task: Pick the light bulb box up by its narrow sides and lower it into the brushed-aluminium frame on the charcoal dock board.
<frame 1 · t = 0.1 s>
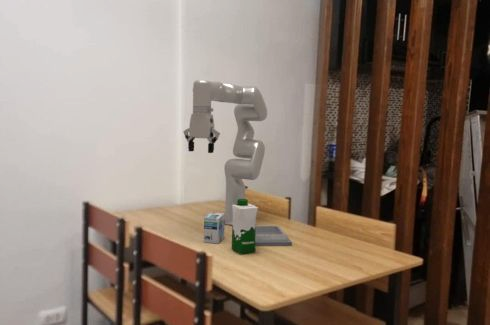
hand: (200, 152, 181), 37 cm above the table, tool pointing down, fingers open, 9 cm apart
dock board: (265, 239, 187), on the table
aluminium frame: (265, 235, 187), resting on dock board
milk carton: (243, 251, 171), on the table
light bulb box: (214, 240, 184), on the table
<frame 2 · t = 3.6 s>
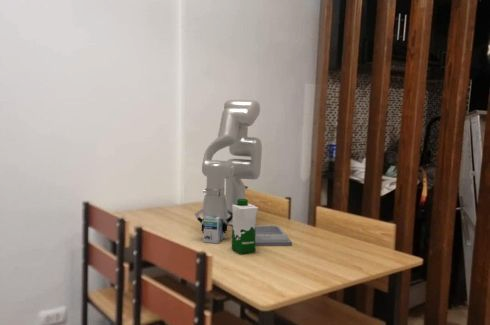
hand: (214, 232, 184), 3 cm above the table, tool pointing down, fingers closed on light bulb box, 8 cm apart
light bulb box: (214, 240, 184), on the table, touching gripper
everything else where it was.
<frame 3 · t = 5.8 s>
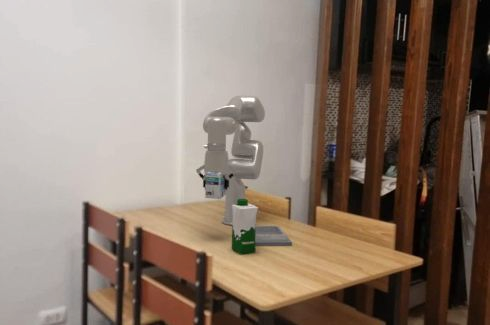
hand: (215, 188, 182), 22 cm above the table, tool pointing down, fingers closed on light bulb box, 8 cm apart
light bulb box: (215, 196, 183), point 18 cm above the table, touching gripper
everything else where it was.
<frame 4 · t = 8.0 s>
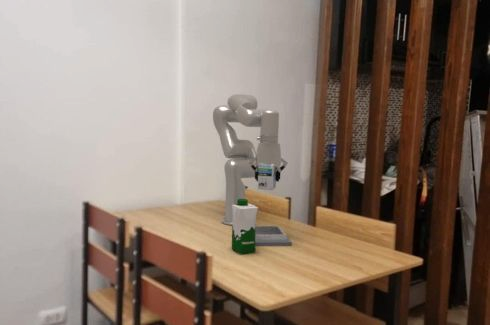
hand: (267, 180, 184), 26 cm above the table, tool pointing down, fingers closed on light bulb box, 8 cm apart
light bulb box: (266, 188, 185), point 22 cm above the table, touching gripper
everything else where it was.
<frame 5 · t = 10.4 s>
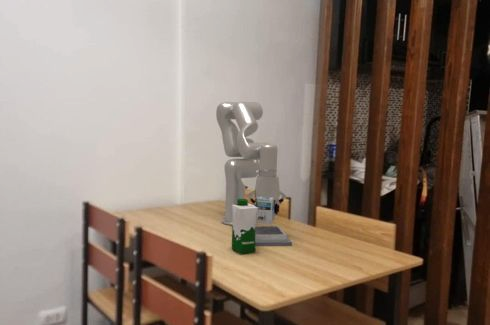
hand: (266, 213, 186), 11 cm above the table, tool pointing down, fingers closed on light bulb box, 8 cm apart
light bulb box: (265, 221, 186), point 8 cm above the table, touching gripper
everything else where it was.
when the fingers open (6 cm above the table, at t = 12.2 s): light bulb box drops 1 cm, resting on dock board.
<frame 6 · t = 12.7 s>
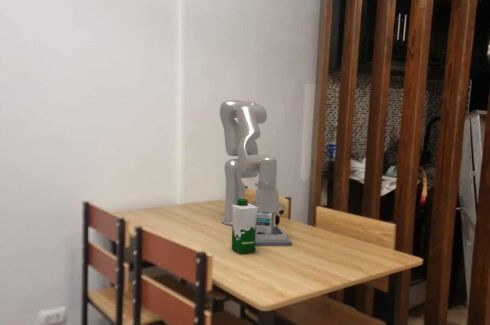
hand: (265, 225, 186), 6 cm above the table, tool pointing down, fingers open, 9 cm apart
light bulb box: (264, 236, 187), point 1 cm above the table, touching dock board
everything else where it was.
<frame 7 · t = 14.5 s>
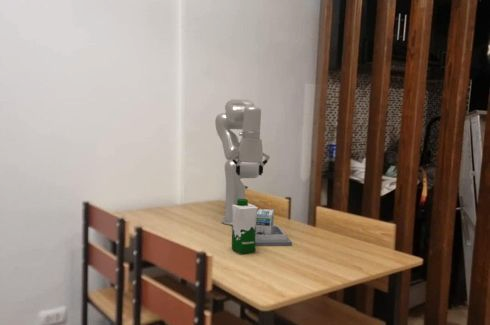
hand: (249, 174, 189), 27 cm above the table, tool pointing down, fingers open, 9 cm apart
nothing on the table moved.
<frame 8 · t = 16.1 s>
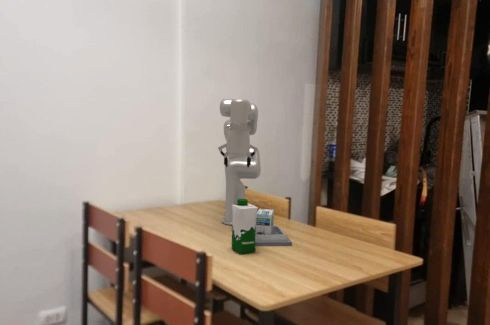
hand: (237, 166, 191), 30 cm above the table, tool pointing down, fingers open, 9 cm apart
nothing on the table moved.
at the end: light bulb box 0.4 cm off-centre on the aluminium frame, point 0.0 cm above the aluminium frame's base; light bulb box tilted 0°; the gripper is holding nothing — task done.
